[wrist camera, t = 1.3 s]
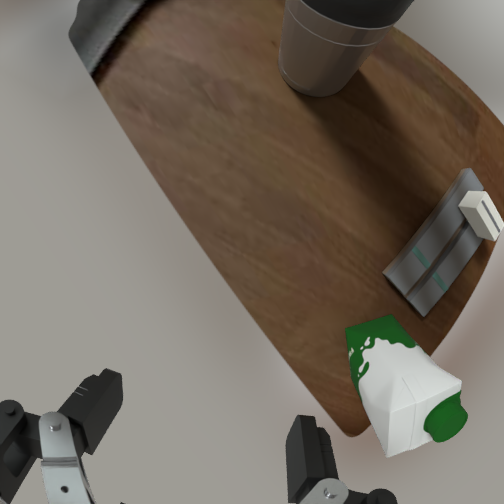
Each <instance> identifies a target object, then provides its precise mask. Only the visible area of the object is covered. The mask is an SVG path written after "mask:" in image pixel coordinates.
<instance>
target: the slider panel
mask: <svg viewBox="0 0 504 504" xmlns="http://www.w3.org/2000/svg"><path fill="white" fill-rule="evenodd" d="M483 189H484V188H483V186H482V185H481V183H480V182H479V180H478V178H477V177H476V175H475V174H474V172H473V171H472V169H471V168H468V169H462V170H461V171H460V173H459V174H458V176H457V177H456V179H455V180H454V182H453V183H452V184H451V186H450V187H449V189H448V190H447V192H446V193H445V194H444V196H443V197H442V198H441V200H440V201H439V203H438V204H437V205H436V207H435V208H434V209H433V211H432V212H431V213H430V215H429V216H428V217H427V219H426V220H425V221H424V223H423V224H422V225H421V226H420V228H419V229H418V230H417V231H416V233H415V234H414V235H413V236H412V238H411V239H410V240H409V241H408V243H407V244H406V245H405V246H404V247H403V249H402V250H401V251H400V252H399V253H398V255H397V256H396V257H395V258H394V259H393V261H392V262H391V263H390V264H389V265H388V266H387V267H386V269H385V270H384V271H383V272H382V273H383V274H384V275H385V276H386V278H387V279H388V280H389V281H390V282H391V283H392V284H393V285H394V286H395V287H396V288H397V290H398V291H399V292H400V293H401V294H402V295H403V296H404V297H405V298H406V300H407V301H408V302H409V303H410V304H411V305H412V306H413V308H414V309H415V310H416V311H417V312H418V313H419V314H421V315H422V316H423V317H424V316H425V315H426V314H427V313H428V312H429V311H430V309H431V308H432V307H433V306H434V305H435V304H436V302H437V301H438V300H439V299H440V298H441V296H442V295H443V294H444V293H445V292H446V291H447V290H448V288H449V286H450V285H451V284H452V282H453V281H454V280H455V279H456V277H457V276H458V275H459V273H460V272H461V271H462V269H463V268H464V266H465V265H466V264H467V262H468V261H469V259H470V258H471V257H472V255H473V254H474V252H475V251H476V249H477V248H478V246H479V245H480V243H481V242H482V240H483V239H484V238H481V237H478V236H477V235H476V233H475V231H474V230H473V228H472V227H471V225H470V223H469V222H468V220H467V219H466V217H465V216H464V214H463V213H462V211H461V210H460V208H459V207H458V205H459V204H460V202H461V201H462V199H463V198H464V196H465V195H466V193H467V192H468V191H482V190H483Z"/></svg>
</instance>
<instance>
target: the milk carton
mask: <svg viewBox="0 0 504 504" xmlns="http://www.w3.org/2000/svg"><path fill="white" fill-rule="evenodd" d="M345 332H346V339H347V347H348V356H349V364H350V373H351V378H352V381H353V383H354V385H355V388H356V390H357V392H358V395H359V397H360V399H361V401H362V404H363V406H364V408H365V410H366V413H367V415H368V417H369V420H370V422H371V424H372V426H373V428H374V431H375V433H376V435H377V437H378V439H379V441H380V444H381V446H382V448H383V451H384V453H385V455H386V457H387V458H388V457H391V456H393V455H396V454H399V453H401V452H404V451H406V450H412V449H414V448H417V447H419V446H420V445H423V444H425V443H427V442H429V441H431V440H434V441H435V442H444V441H446V440H448V439H450V438H451V437H453V436H454V435H456V434H457V433H458V432H459V431H460V430H461V429H462V428H463V426H464V425H465V423H466V421H467V418H468V414H467V412H466V411H465V410H464V408H463V407H462V406H461V404H460V403H461V401H460V394H461V390H460V389H461V385H462V381H461V380H460V379H458V378H456V377H455V376H453V375H451V374H450V373H448V372H446V371H444V370H443V369H441V368H440V367H438V365H437V364H436V363H435V362H434V361H433V360H432V359H431V358H430V357H429V356H428V355H427V354H426V352H425V351H424V350H423V349H422V348H421V347H420V346H419V345H418V344H417V343H416V342H415V341H414V340H413V339H412V338H411V337H410V336H409V334H408V333H407V332H406V331H405V330H404V328H403V327H402V326H401V325H400V324H399V322H398V321H397V320H396V319H395V318H394V317H393V315H392V314H390V315H387V316H384V317H381V318H378V319H375V320H372V321H368V322H365V323H362V324H358V325H355V326H352V327H348V328H345Z"/></svg>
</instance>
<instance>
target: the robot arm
mask: <svg viewBox="0 0 504 504" xmlns="http://www.w3.org/2000/svg"><path fill="white" fill-rule="evenodd" d="M413 1H414V0H286V3H285V11H284V19H283V27H282V35H281V43H280V51H279V60H278V66H279V71H280V73H281V75H282V77H283V79H284V80H285V81H286V83H287V84H289V85H290V86H291V87H292V88H293V89H295V90H296V91H298V92H300V93H303V94H305V95H309V96H313V97H325V96H330V95H333V94H335V93H337V92H338V91H340V90H341V89H342V88H343V87H344V86H345V85H346V83H347V82H348V81H349V80H350V78H351V77H352V76H353V75H354V74H355V72H356V71H357V70H358V69H359V67H360V66H361V65H362V64H363V62H364V61H365V60H366V59H367V57H368V56H369V55H370V54H371V52H372V51H373V50H374V49H375V48H376V46H377V45H378V44H379V43H380V41H381V40H382V39H383V38H384V36H385V35H386V34H387V33H388V31H389V30H390V29H391V28H392V27H393V25H394V24H395V23H396V22H397V21H398V20H399V19H400V17H401V16H402V15H403V14H404V12H405V11H406V10H407V8H408V7H409V6H410V5H411V3H412V2H413ZM122 401H123V389H122V375H121V374H120V373H118V372H115V371H112V370H110V369H107V368H106V369H104V370H103V371H102V373H101V374H100V375H99V376H96V375H92V376H90V377H87V378H86V379H84V381H83V382H82V383H81V384H80V385H79V387H77V388H76V390H75V391H74V392H73V393H72V394H71V396H70V397H69V398H68V399H67V400H66V402H65V403H64V404H63V405H62V406H61V407H60V409H59V410H58V411H57V412H48V413H45V414H43V415H42V416H38V415H34V414H31V413H27V412H24V410H23V407H22V406H21V404H20V403H18V402H17V401H14V400H5V401H2V402H1V403H0V504H10V503H11V501H12V499H13V498H14V496H15V494H16V492H17V491H18V489H19V487H20V485H21V484H22V482H23V480H24V479H25V477H26V475H27V474H28V472H29V470H30V469H31V467H32V465H33V464H34V462H35V460H36V459H37V458H40V459H43V461H41V470H42V475H43V480H44V485H45V490H46V495H47V499H48V503H49V504H96V501H95V499H94V497H93V494H92V492H91V489H90V486H89V483H88V480H87V476H86V473H85V470H84V466H83V463H82V459H81V456H82V455H83V453H84V452H86V453H88V454H90V455H92V454H93V453H94V451H95V449H96V448H97V446H98V444H99V443H100V441H101V439H102V438H103V436H104V434H105V433H106V431H107V429H108V428H109V426H110V424H111V423H112V421H113V419H114V418H115V416H116V415H117V413H118V411H119V410H120V408H121V405H122ZM286 464H287V484H288V503H296V504H397V500H396V497H395V496H394V494H393V493H392V492H390V491H388V490H386V489H375V490H373V491H371V492H370V493H369V494H366V493H360V492H355V491H351V490H349V489H348V488H347V486H346V485H345V484H344V483H343V482H341V481H340V480H339V478H338V473H337V469H336V463H335V459H334V455H333V449H332V447H331V440H330V436H329V434H328V433H327V432H326V430H325V429H324V428H320V427H317V426H316V420H315V417H314V416H306V415H297V417H296V418H295V421H294V423H293V425H292V427H291V429H290V432H289V434H288V436H287V440H286ZM120 504H124V503H122V502H121V503H120Z"/></svg>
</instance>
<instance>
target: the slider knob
mask: <svg viewBox="0 0 504 504" xmlns="http://www.w3.org/2000/svg"><path fill="white" fill-rule="evenodd" d="M458 207H459V208H460V210H461V211H462V213H463V214H464V216H465V217H466V219H467V220H468V222H469V223H470V225H471V227H472V228H473V230H474V231H475V233H476V235H477V236H478V237H481V238H485V239H489V240H492V241H495V240H496V239H497V237H498V235H499V234H500V232H501V230H502V229H503V227H504V223H503V221H502V219H501V217H500V215H499V213H498V211H497V210H496V208H495V206H494V204H493V202H492V201H491V199H490V197H489V195H488V194H487V192H484V191H468V192H467V193H466V195H465V196H464V198H463V199H462V201H461V202H460V204H459V205H458Z"/></svg>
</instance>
